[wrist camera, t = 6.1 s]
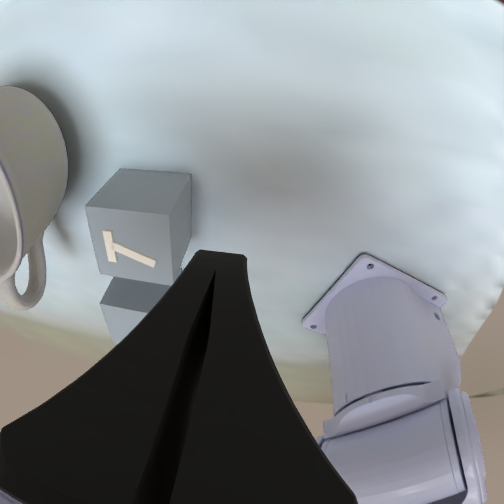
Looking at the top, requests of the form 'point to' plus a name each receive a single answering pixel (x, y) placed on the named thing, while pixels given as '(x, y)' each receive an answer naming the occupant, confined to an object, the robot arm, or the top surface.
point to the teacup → (27, 189)
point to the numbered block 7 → (141, 224)
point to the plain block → (129, 304)
